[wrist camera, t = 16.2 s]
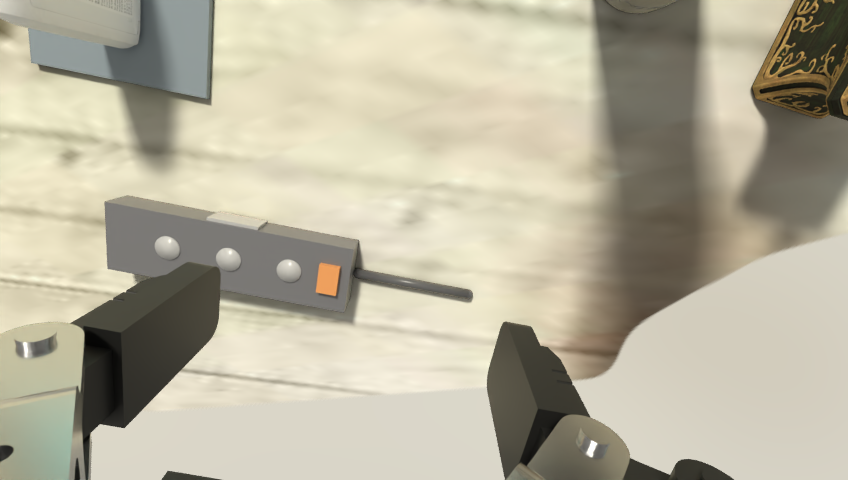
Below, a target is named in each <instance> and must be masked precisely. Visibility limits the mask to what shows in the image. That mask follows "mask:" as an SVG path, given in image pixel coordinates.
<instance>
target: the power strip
mask: <svg viewBox="0 0 848 480" xmlns="http://www.w3.org/2000/svg"><path fill="white" fill-rule="evenodd" d="M105 221H106V243H107V266H108V269H112V270H117V271H122V272H128V273H133V274H138V275H144V276H149V277H158V276H161V275H167V274H168V273H170V272H171V271H173V270H175V269H176V268H178V267H180V266H181V265H183V264H184V263H186V262H194V263H199V264H205V265H210V266H215V267H218V268H219V270H220V273H221V282H220V290H225V291H230V292H235V293H241V294H246V295H252V296H257V297H262V298H268V299H273V300H278V301H284V302H289V303H295V304H300V305H305V306H311V307H316V308H322V309H327V310H332V311H338V312H343V313H344V311H345V309H346V307H347V305H348V302H349V300H350V294H351V288H352V281H353V275H354V277H356V278H359V279H365V280H370V281H375V282H380V283H386V284H391V285H396V286H402V287H407V288H412V289H417V290H423V291H428V292H433V293H438V294H444V295H449V296H454V297H460V298H465V299H470V298H472V296H473V293H472V291H471V290H468V289H462V288H457V287H452V286H447V285H441V284H436V283H431V282H426V281H420V280H415V279H410V278H405V277H399V276H394V275H389V274H384V273H378V272H373V271H368V270H363V269H355V262H356V256H357V250H358V243H359V240H355V239H349V238H344V237H339V236H334V235H329V234H324V233H318V232H313V231H308V230H303V229H298V228H293V227H287V226H282V225H277V224H272V223H268V221H266V220H261V219H256V218H250V217H245V216H240V215H235V214H230V213H225V212H217V213H215V212H210V211H205V210H200V209H195V208H189V207H184V206H179V205H174V204H169V203H164V202H158V201H153V200H148V199H143V198H138V197H133V196H124V197H120V198H116V199H113V200H109V201H105ZM354 269H355V270H354Z"/></svg>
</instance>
